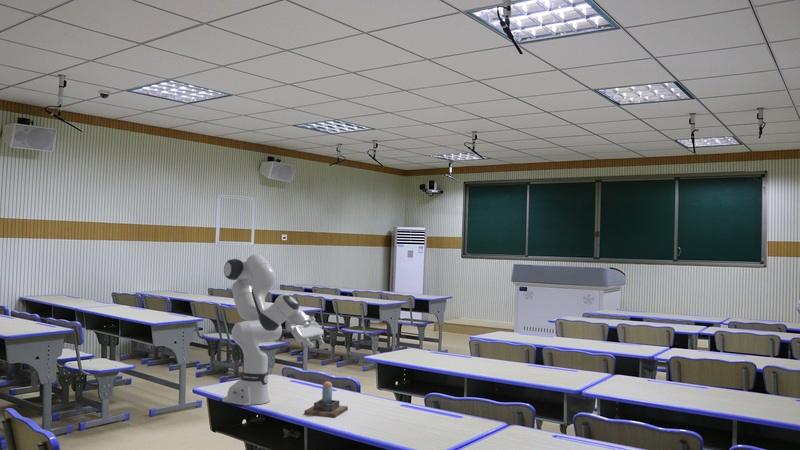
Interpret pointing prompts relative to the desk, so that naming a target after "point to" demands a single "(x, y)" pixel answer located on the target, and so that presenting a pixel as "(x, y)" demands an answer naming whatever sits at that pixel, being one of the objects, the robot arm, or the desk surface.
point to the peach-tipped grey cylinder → (327, 393)
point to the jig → (326, 409)
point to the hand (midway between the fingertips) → (317, 345)
